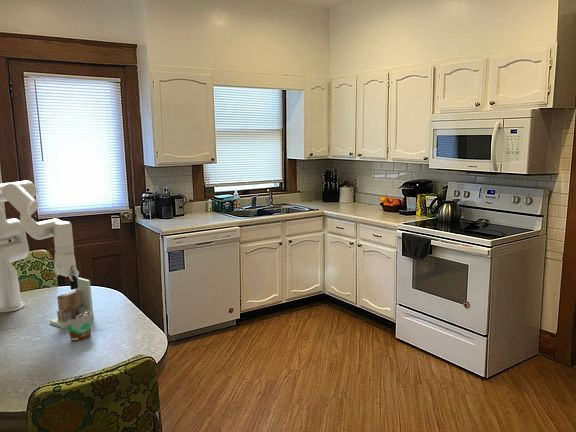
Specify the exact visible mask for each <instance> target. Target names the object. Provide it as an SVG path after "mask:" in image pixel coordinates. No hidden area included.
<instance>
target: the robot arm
mask: <svg viewBox="0 0 576 432" xmlns="http://www.w3.org/2000/svg"><path fill="white" fill-rule="evenodd" d="M37 193H38V191H37V187H36V185H35V184H34V183H33V182H32V181H30V180H21V181H13V182H4V183H0V203H4V202H9V204H11V206H13V207H14V208H15V210H16V211H17V212H18V213H20V215H19V219H18V218H7V219H6V215H5V212H4V211H5V210H3V208H2V207H1V206H0V242H4V241H8V240H11V241H9V242H4V243H1V244H0V313H10V312H15V311H18V310H21V309H23V308H25V306H26V303H25V301H22V300H21V299H22V298H21V290H20V283H19V275H18V270H17V268H16V267H15V266H14V265H13V264H12V263H14V262H17V261H20V260H23V259H25V258H27V257H28V256H29V253H30V247H29V243H28V242H29V241H28V239H27V234H28V235H29V236H30V237H31V238H33V239H34V240H36V241H37V240H39V241H41V240H44V239H48V238H51V237H53V242H54V260H53V261H54V265H53V268H54V273H56V274H55V276H56V280H57V286H63V285H66V279H65V277H66V278H67V277H68V278H69V279H70V281H69V284H70V285H69V287H70V290H72V291H73V290H76V288H78V282H77V280H78V277H79V275H80V271H79V270H78V269H77V262H76V256H75V249H74V248H75V247H74V237H73V227H72V226H73V225H72V222H70V221H66V220H60V219H59V218H52V219H51V218H50V219H47V220H42V221H36V220H34V218H32V215H33V214H35V212H36V211H37V210H38V207H39V203H38V201H37V199H35V198H34V197H36V196H37ZM79 278H80V277H79Z"/></svg>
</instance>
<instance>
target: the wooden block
mask: <svg viewBox="0 0 576 432" xmlns="http://www.w3.org/2000/svg"><path fill="white" fill-rule="evenodd" d="M56 299H57V306H58V310H59V317H60V320H61V321H64V318H63V313H64V312H67V311H71V317H72V318H73V317H75V316H76V315H78V309H77V308H79V307H81V306H83V305H82V295H81V291H80V290H76V289H75V290H74V291H73V290H72V291H70V292H68V293H65V294H62V295H57V296H56Z"/></svg>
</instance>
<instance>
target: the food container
mask: <svg viewBox="0 0 576 432" xmlns="http://www.w3.org/2000/svg"><path fill="white" fill-rule="evenodd" d="M92 318H93V317H92V315H91V312H90V311H89V310H87V309H84V311H83V312H82V313H80V314H78V315H76V316H75V317H73V318H72V319H70V320H68V319H67V325H68V327H67V328H68V332H69V333H68V334H69V339H70V342H71V343H75V342H81V341H85V340H87V339H89V338H90V337H91V335H92V334H91V319H92Z"/></svg>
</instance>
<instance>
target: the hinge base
mask: <svg viewBox="0 0 576 432" xmlns="http://www.w3.org/2000/svg"><path fill="white" fill-rule="evenodd" d="M77 282H78V288H76V289H75V291H76V290H80V291H81V295H82V305H83V306H81V307H79V308H77V309H78V314H80V313H82V312H83V311H84V309H87V310H89V311H90V312H91V315H92V318H95V316H94V309H93V299H92V288H91V280H90V279H86V278H82V277H78V280H77ZM56 313H57V317H55V318H53V319H50V320H49V323H50V324H51V325H53V326H55V327H59V328H61V329H66V328H68V325H67V319H68V320H70V319H72V317H71V311H67V312H64V313H63V318H64V321H61V320H60V317H59V309H58V310H56Z"/></svg>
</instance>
